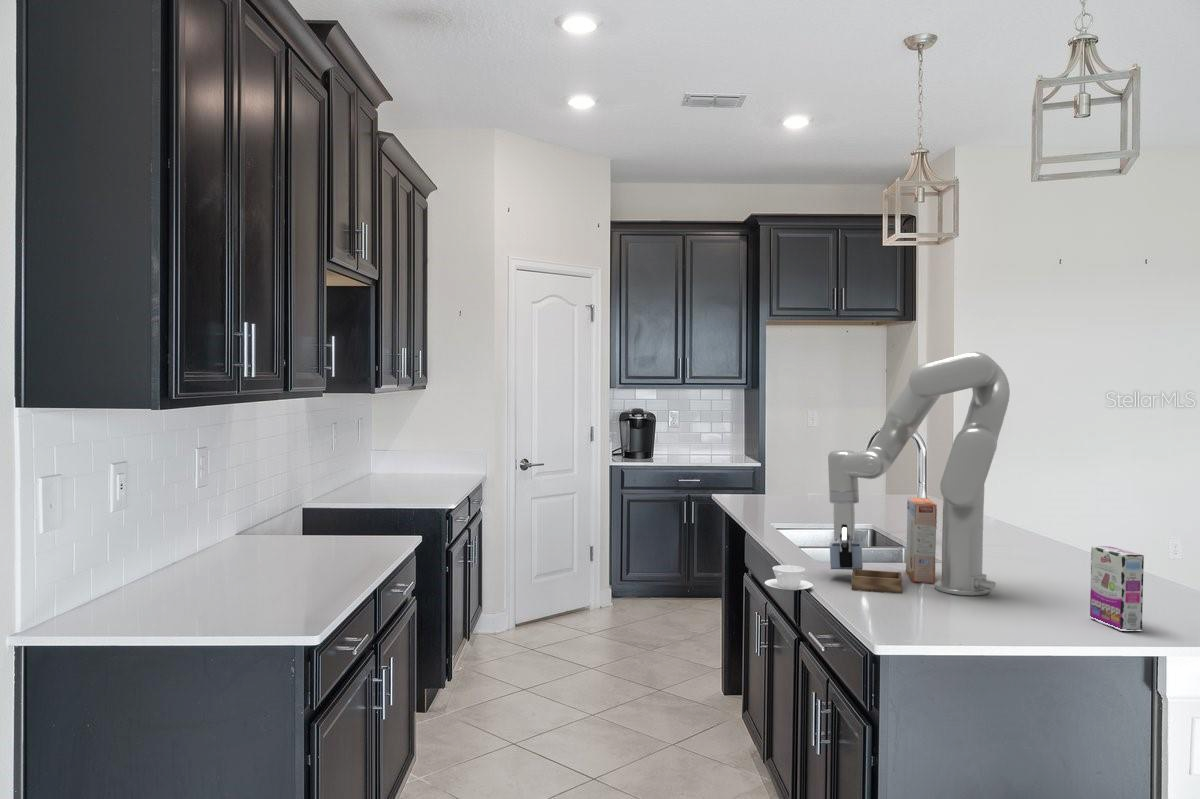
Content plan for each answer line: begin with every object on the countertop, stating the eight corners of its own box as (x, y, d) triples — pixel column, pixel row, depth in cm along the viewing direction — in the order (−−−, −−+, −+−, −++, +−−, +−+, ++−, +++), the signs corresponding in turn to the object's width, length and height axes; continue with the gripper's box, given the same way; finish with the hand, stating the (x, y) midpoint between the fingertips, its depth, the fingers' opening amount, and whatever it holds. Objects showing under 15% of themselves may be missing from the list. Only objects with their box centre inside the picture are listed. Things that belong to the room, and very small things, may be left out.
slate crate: (862, 565, 242) (861, 543, 242) (862, 569, 237) (861, 546, 237) (831, 565, 244) (830, 543, 244) (830, 569, 239) (829, 546, 239)
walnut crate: (901, 585, 233) (901, 572, 233) (901, 593, 224) (901, 579, 224) (852, 582, 236) (852, 569, 236) (851, 590, 228) (851, 576, 228)
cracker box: (936, 584, 235) (937, 504, 235) (912, 582, 237) (913, 503, 236) (928, 572, 249) (929, 497, 249) (905, 571, 250) (906, 496, 250)
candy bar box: (1144, 632, 191) (1145, 554, 191) (1121, 632, 191) (1123, 555, 190) (1109, 618, 202) (1111, 545, 202) (1088, 618, 202) (1089, 545, 201)
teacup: (758, 591, 226) (758, 570, 226) (772, 581, 237) (772, 561, 237) (805, 596, 221) (805, 575, 221) (818, 587, 231) (818, 566, 231)
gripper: (831, 493, 250) (833, 558, 250) (827, 500, 233) (830, 570, 233) (859, 493, 247) (862, 559, 247) (857, 500, 231) (860, 571, 231)
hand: (846, 564), depth 240 cm, fingers closed on slate crate, 5 cm apart
